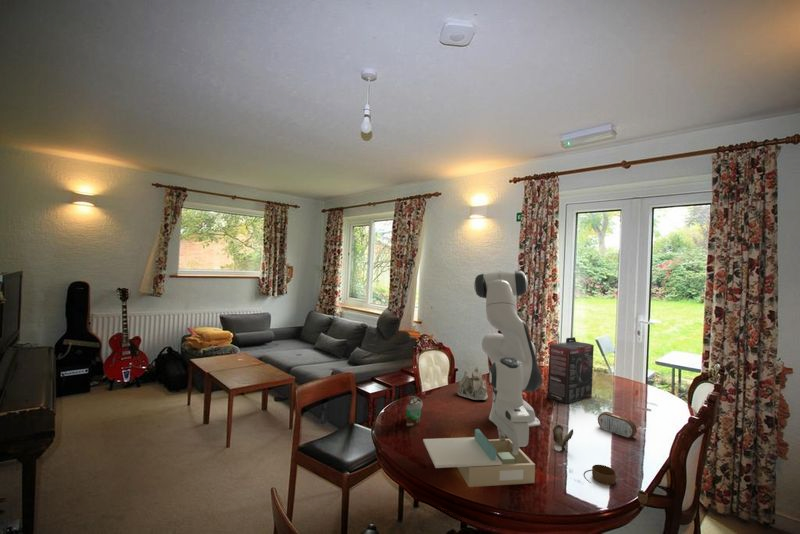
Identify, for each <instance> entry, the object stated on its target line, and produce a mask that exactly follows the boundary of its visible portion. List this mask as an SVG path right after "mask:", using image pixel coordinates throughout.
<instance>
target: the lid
mask: <svg viewBox="0 0 800 534" xmlns="http://www.w3.org/2000/svg"><path fill="white" fill-rule="evenodd" d="M488 439H489V438H487V437H486V436H485V435H484V433H483V432H482V431H481V430H480V428H475V429H474V436H472V437H471V436H470V437H469V436H468V437H467V436H466V437H443V438H441V437H440V438H423V439H422V443H423V444H424V447H425V448H426V452H428V455H429V457H430V459H431V462H432V463H433V465H434V468H435V469H441V468H442V469H443V468H457V467H467V466H488V465H502V462H501V460H500V459H499V458H498V457H497V456H496V449H495V448H494V446H493V445H492V444H491V443H490V442H489V440H488Z"/></svg>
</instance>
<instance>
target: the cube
mask: <svg viewBox="0 0 800 534" xmlns="http://www.w3.org/2000/svg"><path fill="white" fill-rule="evenodd" d="M497 457H498V458H499V459H500V460H501V462H502V464H515V458H514V457H513V456H512V455H511V454H510V453H509V452H501V453H497Z"/></svg>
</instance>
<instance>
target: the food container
mask: <svg viewBox="0 0 800 534" xmlns="http://www.w3.org/2000/svg"><path fill="white" fill-rule="evenodd" d="M423 406H424V404H423V400H422V399H421V398H420V397H418V396H416V395H415V396H414V395H411V396H410V400H409V401H408V404H406V423H405V424H406V425H405V426H406V427H408V428H413V427H417V426H419V425H420V422H421V412H422V408H423Z"/></svg>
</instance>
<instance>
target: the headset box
mask: <svg viewBox="0 0 800 534" xmlns="http://www.w3.org/2000/svg"><path fill="white" fill-rule="evenodd" d="M576 340H577V339H576V336H574V337H573V336H572V337H566V338H565V342H559V343H558V342H557V343H549V354H548V356H549V357H548V376H547V393H546V394H547V398H548V399H552V400H555V401H558V402H559V403H563V404H566V405H567V404H571V403H576V402H579V401H582V400H583V401H584V400H586V399H590V398H592V396H593V393H592V391H593V372H594V369H593V368H594V351H595V350H594V346H595V345H594V344H591V343H587V342H579V341H576Z"/></svg>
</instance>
